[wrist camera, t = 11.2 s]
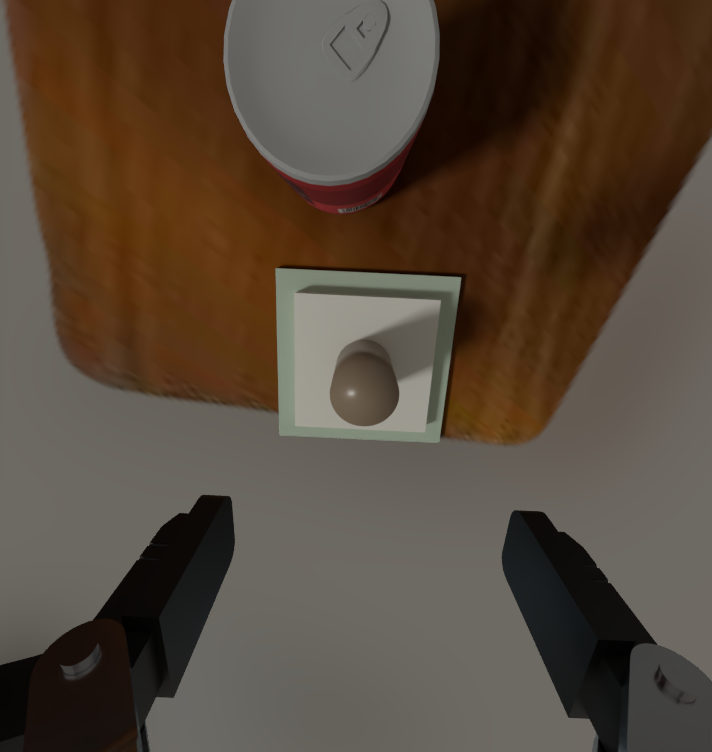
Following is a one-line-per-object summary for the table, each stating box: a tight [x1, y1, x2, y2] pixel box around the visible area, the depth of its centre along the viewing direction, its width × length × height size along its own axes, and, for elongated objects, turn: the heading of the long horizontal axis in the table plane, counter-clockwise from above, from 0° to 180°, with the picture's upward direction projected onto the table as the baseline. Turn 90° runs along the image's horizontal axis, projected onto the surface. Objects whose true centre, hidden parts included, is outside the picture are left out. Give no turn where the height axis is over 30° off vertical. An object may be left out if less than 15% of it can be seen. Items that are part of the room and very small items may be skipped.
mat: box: [276, 268, 461, 443], centre depth 27 cm, size 13×13×1 cm
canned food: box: [224, 0, 440, 214], centre depth 18 cm, size 8×8×11 cm
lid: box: [294, 291, 441, 433], centre depth 24 cm, size 10×10×7 cm
